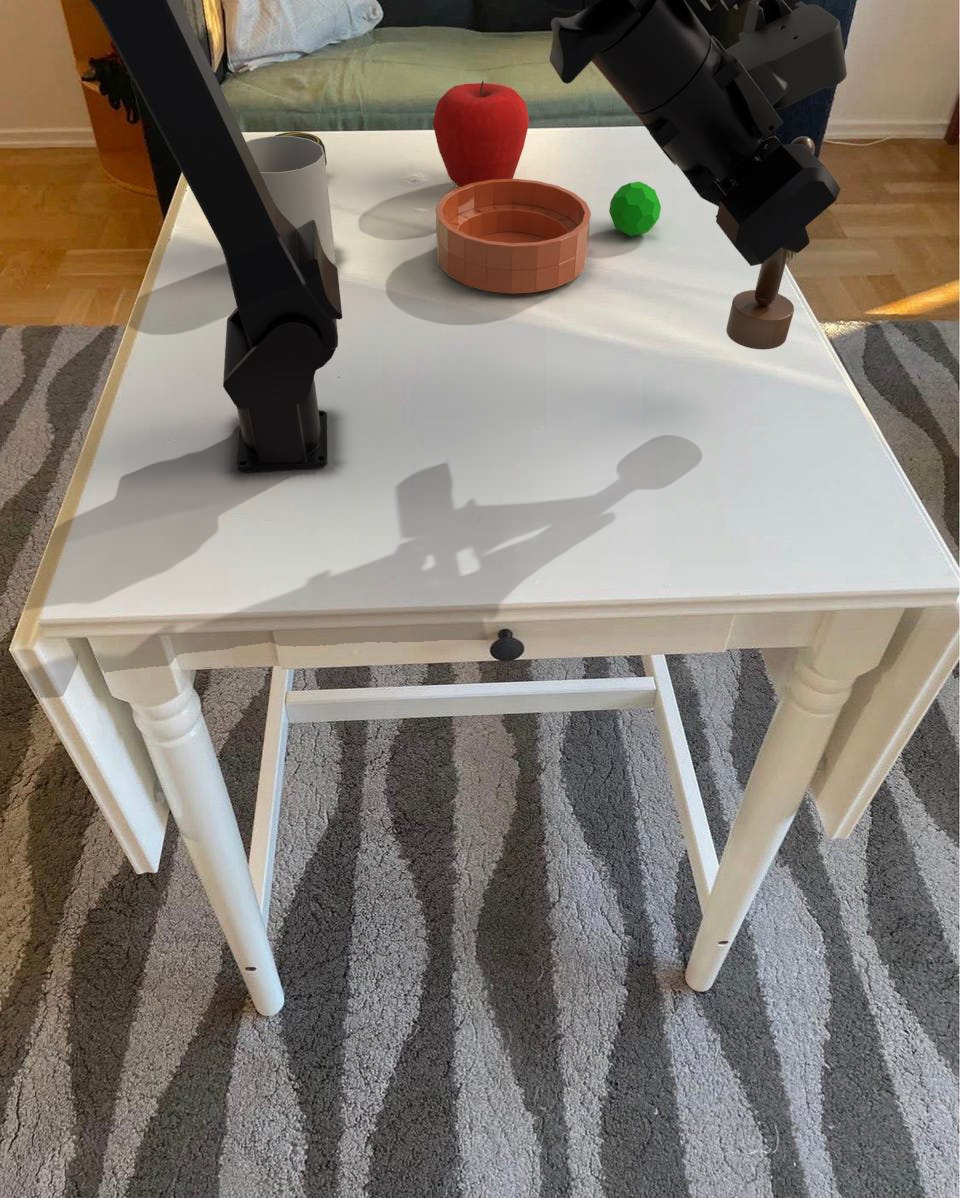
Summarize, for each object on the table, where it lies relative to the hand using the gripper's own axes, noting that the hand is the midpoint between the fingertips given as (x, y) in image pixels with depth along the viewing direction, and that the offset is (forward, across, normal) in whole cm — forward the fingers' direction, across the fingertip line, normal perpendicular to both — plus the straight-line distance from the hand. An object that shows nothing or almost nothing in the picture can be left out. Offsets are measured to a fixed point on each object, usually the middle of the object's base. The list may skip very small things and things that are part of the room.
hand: (797, 240), depth 66 cm
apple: (-1, +43, +20) cm, 48 cm away
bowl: (-1, +26, +20) cm, 33 cm away
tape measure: (-15, +48, +34) cm, 61 cm away
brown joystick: (+4, 0, +6) cm, 7 cm away
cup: (-15, +29, +35) cm, 48 cm away
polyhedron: (+9, +31, +11) cm, 34 cm away
